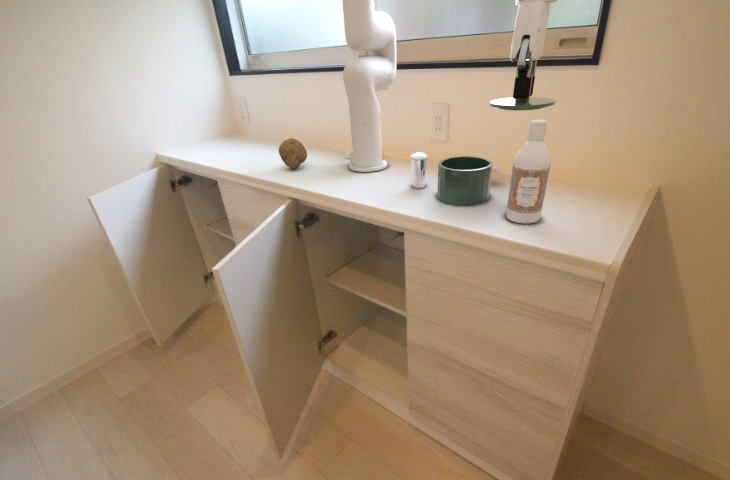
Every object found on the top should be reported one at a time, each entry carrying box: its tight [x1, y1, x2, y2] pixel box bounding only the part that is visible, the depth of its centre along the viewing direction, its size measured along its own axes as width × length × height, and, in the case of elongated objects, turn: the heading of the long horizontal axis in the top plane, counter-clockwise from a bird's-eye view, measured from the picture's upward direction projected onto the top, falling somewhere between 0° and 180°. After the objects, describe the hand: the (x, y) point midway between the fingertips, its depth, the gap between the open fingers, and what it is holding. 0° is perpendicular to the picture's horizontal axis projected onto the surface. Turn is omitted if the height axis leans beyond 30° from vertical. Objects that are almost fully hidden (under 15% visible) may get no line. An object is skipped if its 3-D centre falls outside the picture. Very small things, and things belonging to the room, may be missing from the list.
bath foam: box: [505, 119, 552, 225], centre depth 74 cm, size 7×7×20 cm
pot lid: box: [489, 73, 557, 111], centre depth 79 cm, size 14×14×7 cm
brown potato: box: [278, 137, 308, 171], centre depth 121 cm, size 9×9×10 cm
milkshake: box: [407, 151, 428, 189], centre depth 98 cm, size 4×5×10 cm
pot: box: [436, 155, 493, 207], centre depth 90 cm, size 13×13×8 cm
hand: (522, 96), depth 80 cm, fingers closed on pot lid, 3 cm apart
